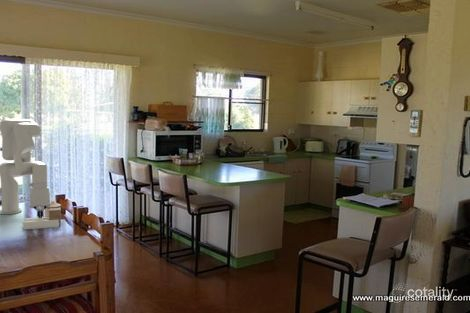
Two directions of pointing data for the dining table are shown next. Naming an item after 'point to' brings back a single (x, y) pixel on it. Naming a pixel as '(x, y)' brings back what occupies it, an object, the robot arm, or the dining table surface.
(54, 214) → the walnut block
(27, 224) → the cream rectangular tray
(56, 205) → the teacup with lid
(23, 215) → the dining table surface
